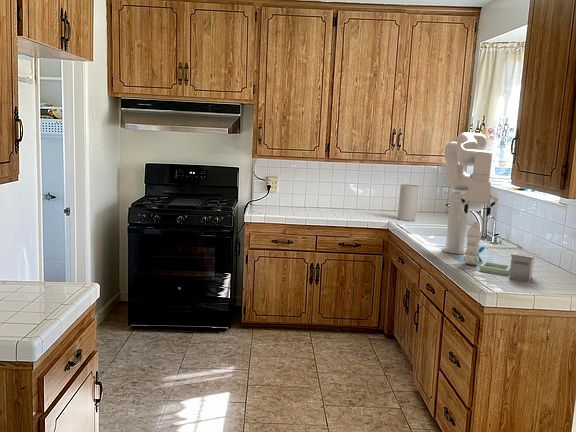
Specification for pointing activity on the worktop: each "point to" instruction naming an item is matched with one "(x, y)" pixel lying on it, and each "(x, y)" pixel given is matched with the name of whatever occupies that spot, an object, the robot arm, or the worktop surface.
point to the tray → (495, 268)
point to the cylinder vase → (408, 202)
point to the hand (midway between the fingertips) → (476, 214)
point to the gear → (480, 252)
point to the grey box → (521, 266)
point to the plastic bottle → (473, 244)
